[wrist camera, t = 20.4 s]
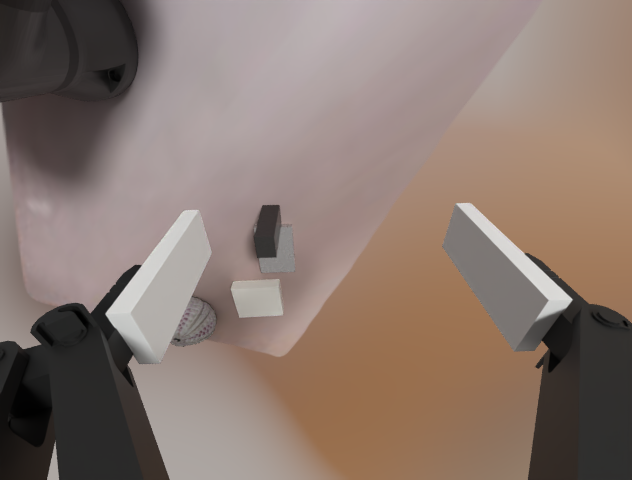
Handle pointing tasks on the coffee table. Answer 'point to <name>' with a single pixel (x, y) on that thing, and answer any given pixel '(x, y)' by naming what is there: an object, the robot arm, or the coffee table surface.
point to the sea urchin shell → (195, 324)
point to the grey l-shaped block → (274, 241)
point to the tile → (258, 298)
